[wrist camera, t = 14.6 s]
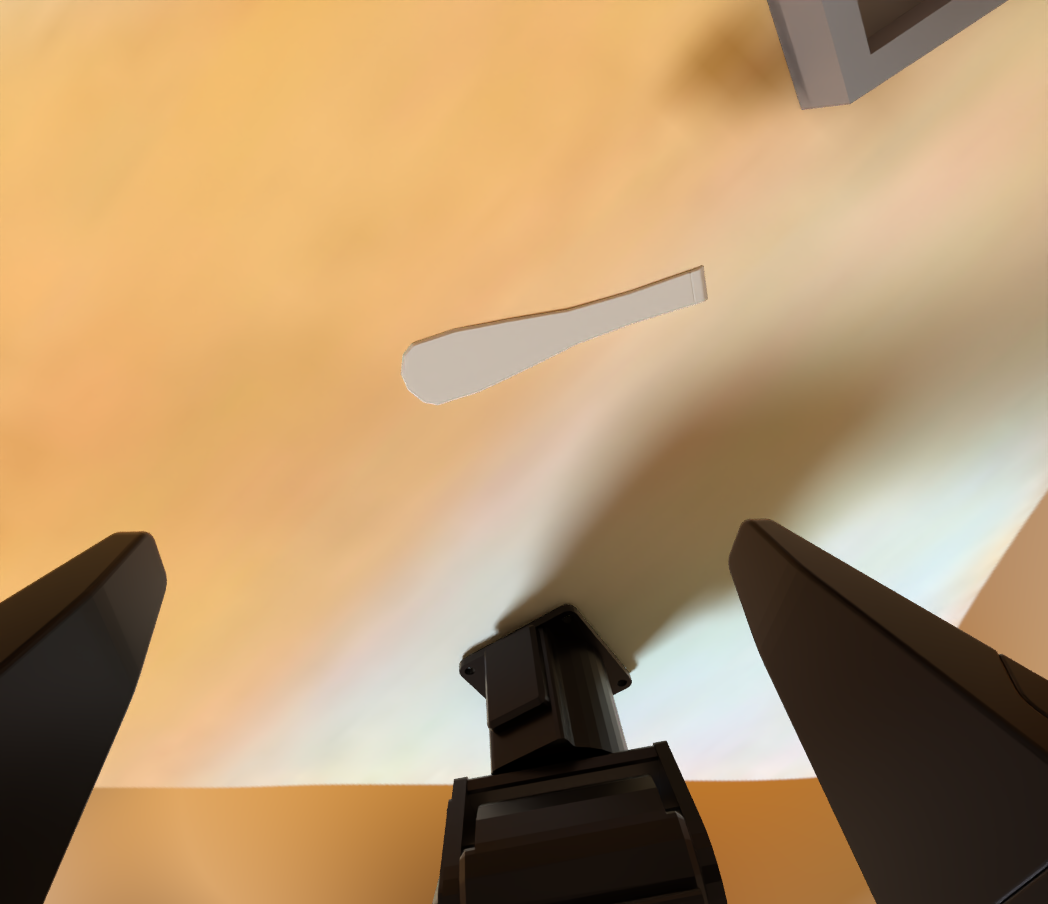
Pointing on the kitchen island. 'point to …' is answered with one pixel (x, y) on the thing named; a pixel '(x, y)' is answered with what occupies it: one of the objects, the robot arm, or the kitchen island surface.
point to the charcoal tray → (862, 41)
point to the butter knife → (533, 339)
